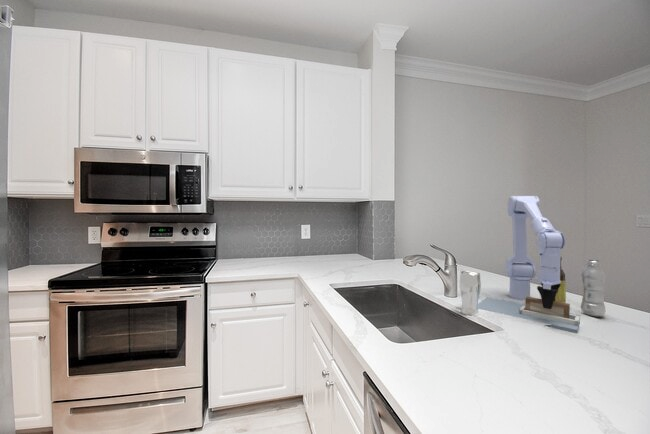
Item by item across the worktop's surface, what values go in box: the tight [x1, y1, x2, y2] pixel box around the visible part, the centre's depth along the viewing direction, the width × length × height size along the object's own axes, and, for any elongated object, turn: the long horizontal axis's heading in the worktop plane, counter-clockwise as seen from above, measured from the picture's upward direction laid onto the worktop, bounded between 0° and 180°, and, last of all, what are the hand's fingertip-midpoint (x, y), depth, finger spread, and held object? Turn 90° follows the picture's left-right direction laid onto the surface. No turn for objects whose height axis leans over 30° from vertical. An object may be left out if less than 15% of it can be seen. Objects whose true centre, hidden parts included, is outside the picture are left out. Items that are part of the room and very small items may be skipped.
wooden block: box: [524, 296, 571, 319], centre depth 101 cm, size 3×12×6 cm, turn 47°
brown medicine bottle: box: [555, 256, 567, 303], centre depth 115 cm, size 6×6×20 cm
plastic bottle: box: [580, 259, 607, 318], centre depth 105 cm, size 6×7×20 cm
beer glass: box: [459, 270, 482, 317], centre depth 107 cm, size 7×7×15 cm
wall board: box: [478, 296, 582, 334], centre depth 107 cm, size 18×30×2 cm, turn 46°
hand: (548, 305), depth 101 cm, fingers open, 7 cm apart
